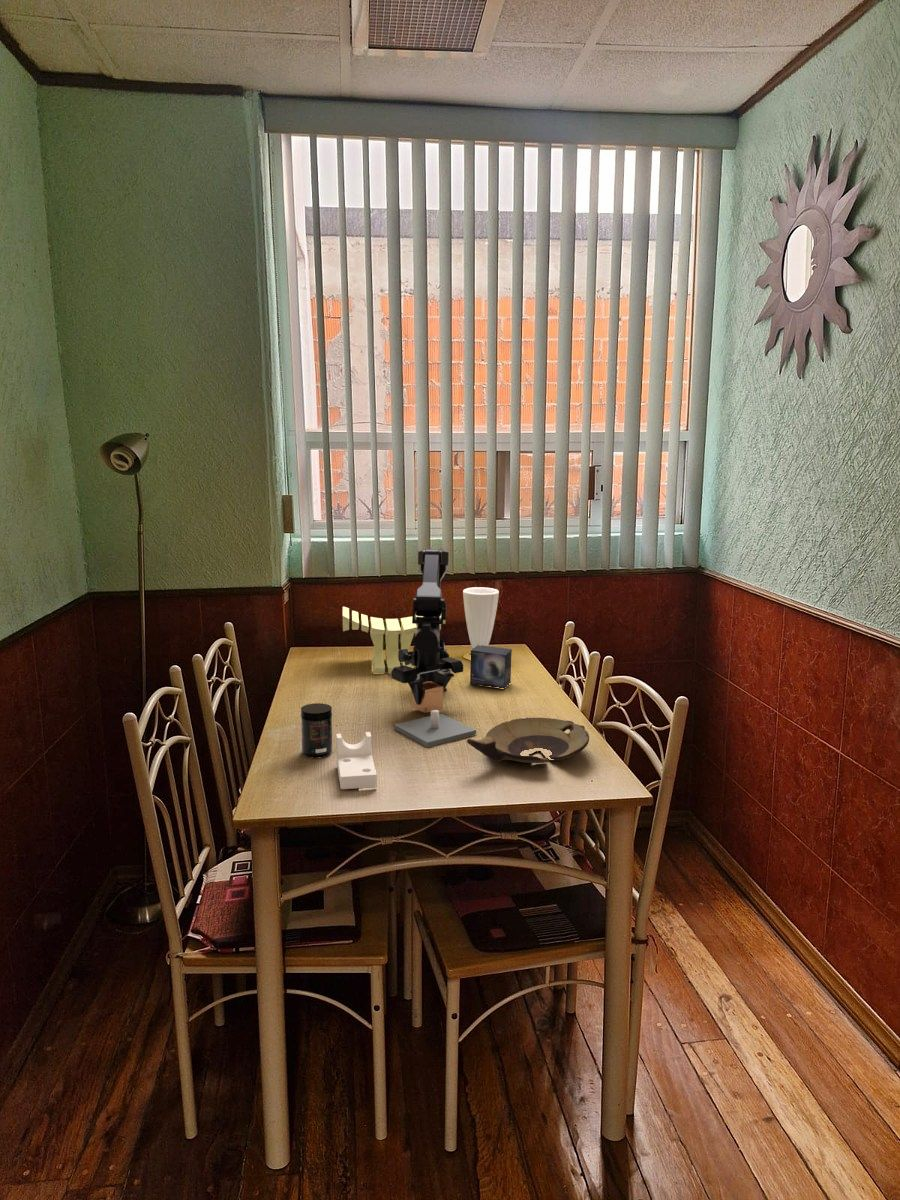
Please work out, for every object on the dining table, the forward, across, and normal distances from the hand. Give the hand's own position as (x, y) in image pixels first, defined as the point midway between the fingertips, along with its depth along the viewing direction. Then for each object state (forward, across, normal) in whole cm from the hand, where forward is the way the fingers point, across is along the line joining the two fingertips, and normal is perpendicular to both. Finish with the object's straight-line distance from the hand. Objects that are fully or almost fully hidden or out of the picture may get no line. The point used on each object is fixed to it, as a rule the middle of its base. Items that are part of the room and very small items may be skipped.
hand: (427, 702), depth 206 cm
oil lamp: (+3, -1, +36) cm, 36 cm away
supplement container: (+3, +36, +9) cm, 37 cm away
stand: (+2, +7, +13) cm, 15 cm away
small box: (+3, -28, -9) cm, 30 cm away
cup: (+3, -44, -34) cm, 56 cm away
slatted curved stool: (+3, -15, -40) cm, 43 cm away
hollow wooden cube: (+2, 0, 0) cm, 2 cm away
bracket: (+3, +36, +25) cm, 44 cm away
